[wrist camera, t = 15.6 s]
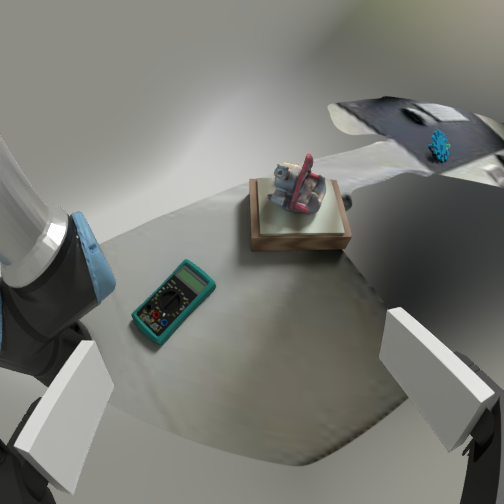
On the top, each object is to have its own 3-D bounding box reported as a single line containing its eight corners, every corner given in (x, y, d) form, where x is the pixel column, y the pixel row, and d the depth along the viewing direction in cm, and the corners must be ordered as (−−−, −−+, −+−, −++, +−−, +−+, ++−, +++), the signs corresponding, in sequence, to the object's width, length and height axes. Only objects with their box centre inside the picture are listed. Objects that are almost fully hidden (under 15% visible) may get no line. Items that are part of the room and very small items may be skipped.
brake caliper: (328, 226, 45) (295, 171, 38) (276, 230, 52) (240, 184, 45) (342, 182, 50) (314, 131, 43) (295, 190, 57) (265, 146, 50)
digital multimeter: (133, 320, 45) (126, 316, 42) (189, 263, 50) (185, 255, 48) (160, 349, 42) (155, 346, 40) (218, 287, 48) (216, 280, 45)
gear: (436, 160, 65) (433, 128, 62) (422, 160, 70) (418, 129, 68) (453, 162, 68) (450, 132, 65) (439, 161, 73) (436, 133, 71)
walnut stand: (251, 251, 51) (251, 236, 47) (249, 193, 58) (249, 176, 53) (345, 249, 51) (352, 234, 47) (331, 193, 58) (337, 178, 54)
